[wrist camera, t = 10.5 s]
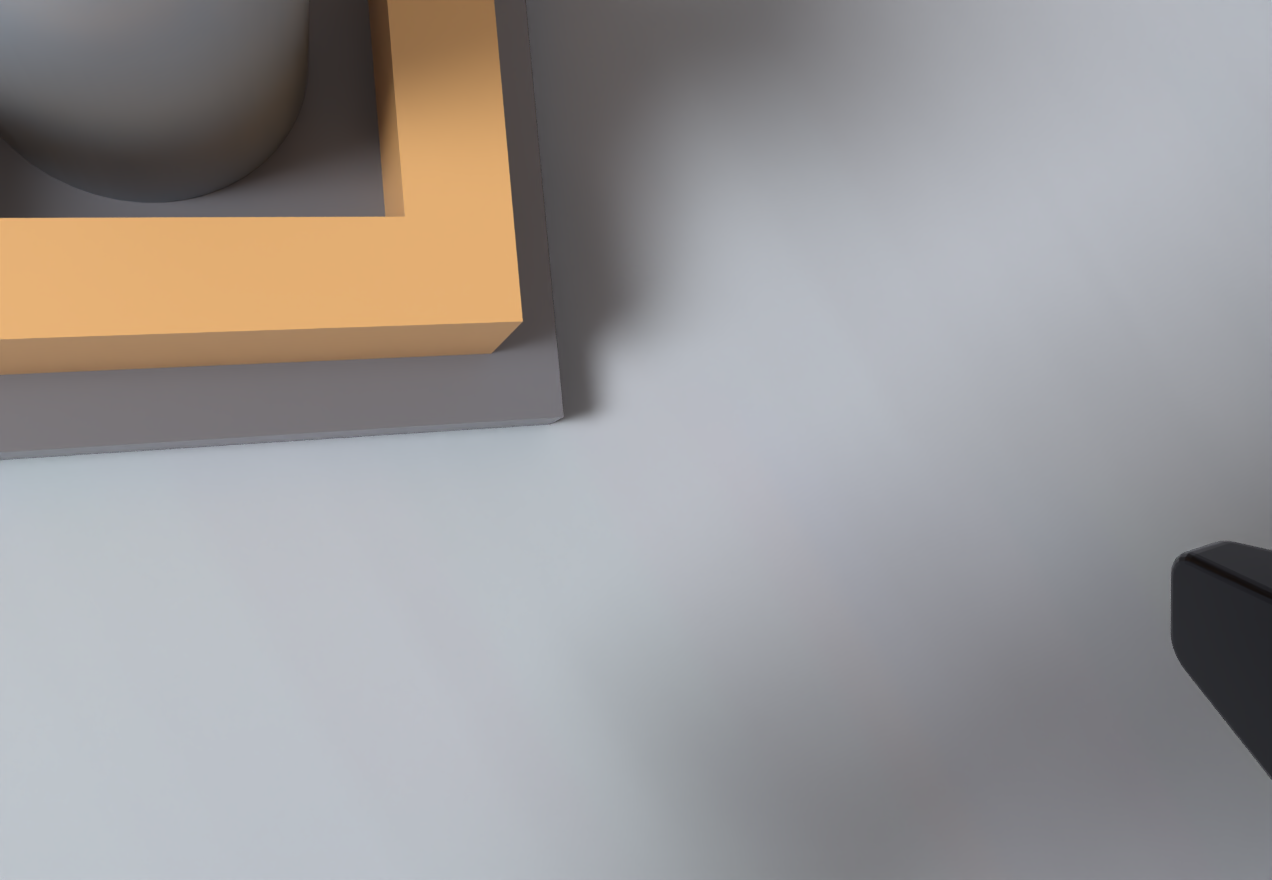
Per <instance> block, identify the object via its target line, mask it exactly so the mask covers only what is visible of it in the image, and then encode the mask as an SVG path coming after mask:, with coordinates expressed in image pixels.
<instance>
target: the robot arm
mask: <svg viewBox="0 0 1272 880" xmlns="http://www.w3.org/2000/svg"><path fill="white" fill-rule="evenodd" d="M1171 640H1172V644H1173V648H1174V651H1175V654H1176V656H1177V658H1178V660H1179V662H1180V663H1181V665H1182V666H1183V668H1184V669H1185V671H1186V672H1187V673H1188V674H1189V676H1190V677H1191V678H1192V679H1193V681H1194V682H1195V683H1196V685H1197V686H1198V687H1199V688H1200V690H1201V691H1202V692H1203V693H1204V695H1205V696H1206V697H1207V698H1208V700H1209V701H1210V702H1211V703H1212V705H1213V706H1214V707H1215V709H1216V710H1217V711H1218V712H1219V714H1220V715H1221V716H1222V717H1223V719H1224V720H1225V721H1226V722H1227V724H1228V725H1229V726H1230V728H1231V729H1232V730H1233V731H1234V733H1235V734H1236V735H1237V736H1238V738H1239V739H1240V740H1241V741H1242V743H1243V744H1244V745H1245V746H1246V748H1247V749H1248V750H1249V752H1250V753H1251V754H1252V755H1253V757H1254V758H1255V759H1256V760H1257V762H1258V763H1259V764H1260V765H1261V767H1262V768H1263V769H1264V771H1265V772H1266V773H1267V774H1268V776H1269V777H1270V778H1271V779H1272V550H1267V549H1263V548H1259V547H1254V546H1250V545H1245V544H1241V543H1236V542H1231V541H1219V542H1215V543H1212V544H1209V545H1206V546H1203V547H1200V548H1197V549H1194V550H1190V551H1187V552H1184V553H1183V554H1181V555H1180V556H1178V557H1177V558H1176V559H1175V561H1174V563H1173V566H1172V571H1171Z"/></svg>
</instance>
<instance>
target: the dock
mask: <svg viewBox="0 0 1272 880" xmlns="http://www.w3.org/2000/svg"><path fill="white" fill-rule="evenodd" d="M563 417H564V415H563V404H562V393H561V382H560V371H559V360H558V349H557V338H556V327H555V316H554V306H553V295H552V284H551V273H550V262H549V251H548V240H547V229H546V218H545V207H544V196H543V186H542V175H541V164H540V153H539V142H538V131H537V120H536V109H535V98H534V87H533V77H532V66H531V55H530V44H529V33H528V22H527V11H526V0H309V47H308V74H307V84H306V89H305V94H304V99H303V102H302V105H301V107H300V110H299V113H298V115H297V118H296V120H295V122H294V124H293V125H292V127H291V129H290V131H289V133H288V135H287V136H286V137H285V139H284V140H283V141H282V143H281V144H280V145H279V147H278V148H277V149H276V150H275V151H274V152H273V153H272V154H271V155H270V156H269V157H268V158H267V159H266V160H265V161H264V162H263V163H262V164H261V165H260V166H258V167H257V168H256V169H254V170H253V171H252V172H250V173H249V174H248V175H246V176H245V177H243V178H241V179H240V180H238V181H236V182H234V183H232V184H230V185H229V186H227V187H224V188H222V189H219V190H216V191H214V192H211V193H209V194H206V195H202V196H198V197H194V198H190V199H186V200H178V201H170V202H132V201H123V200H116V199H111V198H107V197H103V196H98V195H94V194H91V193H88V192H86V191H83V190H80V189H77V188H74V187H72V186H70V185H68V184H66V183H63V182H61V181H59V180H57V179H55V178H53V177H51V176H50V175H48V174H46V173H45V172H43V171H42V170H40V169H39V168H37V167H36V166H34V165H32V164H31V163H30V162H28V161H27V160H26V159H25V158H24V157H22V156H21V155H20V154H19V153H18V152H16V151H15V150H14V149H13V148H12V147H11V146H10V145H9V144H8V143H7V142H6V141H5V140H4V139H3V138H2V137H1V136H0V460H5V459H21V458H36V457H51V456H67V455H82V454H98V453H113V452H128V451H144V450H159V449H175V448H190V447H206V446H221V445H236V444H252V443H267V442H283V441H298V440H313V439H329V438H344V437H360V436H375V435H391V434H406V433H421V432H437V431H452V430H468V429H483V428H498V427H514V426H529V425H545V424H551V423H553V422H555V421H557V420H559V419H561V418H563Z"/></svg>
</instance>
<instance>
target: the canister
mask: <svg viewBox="0 0 1272 880" xmlns="http://www.w3.org/2000/svg"><path fill="white" fill-rule="evenodd" d="M308 47H309V0H0V136H1V137H2V138H3V139H4V140H5V141H6V142H7V143H8V144H9V145H10V146H11V147H12V148H13V149H14V150H15V151H16V152H18V153H19V154H20V155H21V156H22V157H24V158H25V159H26V160H27V161H28V162H30V163H31V164H32V165H34V166H36V167H37V168H39V169H40V170H42V171H43V172H45V173H46V174H48V175H50V176H51V177H53V178H55V179H57V180H59V181H61V182H63V183H66V184H68V185H70V186H72V187H74V188H77V189H80V190H83V191H86V192H88V193H91V194H94V195H98V196H103V197H107V198H111V199H116V200H123V201H132V202H170V201H178V200H186V199H190V198H194V197H198V196H202V195H206V194H209V193H211V192H214V191H216V190H219V189H222V188H224V187H227V186H229V185H230V184H232V183H234V182H236V181H238V180H240V179H241V178H243V177H245V176H246V175H248V174H249V173H250V172H252V171H253V170H254V169H256V168H257V167H258V166H260V165H261V164H262V163H263V162H264V161H265V160H266V159H267V158H268V157H269V156H270V155H271V154H272V153H273V152H274V151H275V150H276V149H277V148H278V147H279V145H280V144H281V143H282V141H283V140H284V139H285V137H286V136H287V135H288V133H289V131H290V129H291V127H292V125H293V124H294V122H295V120H296V118H297V115H298V113H299V110H300V107H301V105H302V102H303V99H304V94H305V89H306V84H307V74H308Z"/></svg>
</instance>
